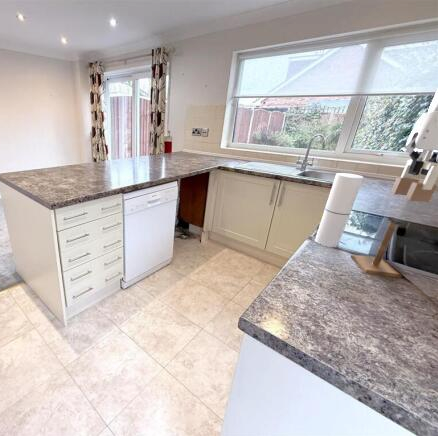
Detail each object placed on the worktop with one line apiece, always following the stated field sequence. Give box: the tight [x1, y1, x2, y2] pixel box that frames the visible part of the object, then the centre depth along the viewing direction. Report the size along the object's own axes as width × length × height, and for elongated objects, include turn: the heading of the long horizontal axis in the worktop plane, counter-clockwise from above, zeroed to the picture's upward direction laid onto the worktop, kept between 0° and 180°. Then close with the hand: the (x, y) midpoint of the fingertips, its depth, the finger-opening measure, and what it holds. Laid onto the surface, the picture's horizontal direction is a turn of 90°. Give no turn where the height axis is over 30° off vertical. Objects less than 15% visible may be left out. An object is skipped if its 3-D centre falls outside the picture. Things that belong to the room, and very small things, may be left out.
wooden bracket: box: [390, 158, 438, 203], centre depth 74 cm, size 5×10×11 cm, turn 167°
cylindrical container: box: [314, 172, 364, 248], centre depth 85 cm, size 7×7×25 cm
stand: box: [350, 216, 404, 279], centre depth 72 cm, size 9×9×16 cm
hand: (419, 174), depth 73 cm, fingers closed on wooden bracket, 2 cm apart
